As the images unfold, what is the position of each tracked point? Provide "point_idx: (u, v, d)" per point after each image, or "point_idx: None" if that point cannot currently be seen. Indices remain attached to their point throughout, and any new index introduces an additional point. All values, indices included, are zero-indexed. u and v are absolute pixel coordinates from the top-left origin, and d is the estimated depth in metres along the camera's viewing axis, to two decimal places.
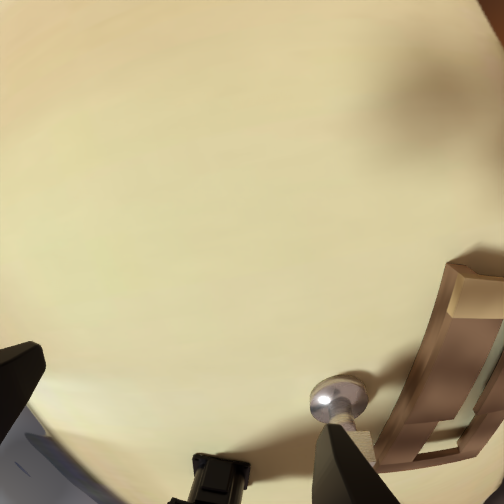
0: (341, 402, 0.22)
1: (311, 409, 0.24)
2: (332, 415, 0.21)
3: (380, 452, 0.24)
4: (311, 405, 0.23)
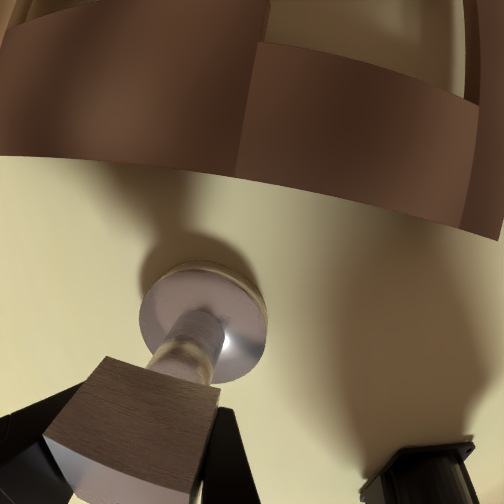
0: None
1: (211, 382, 0.12)
2: None
3: None
4: None
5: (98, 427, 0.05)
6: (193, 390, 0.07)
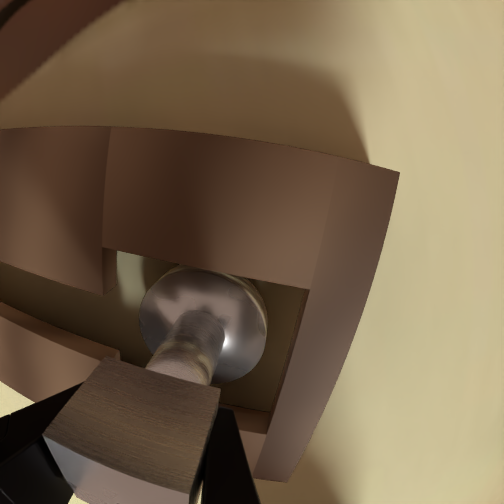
0: None
1: (211, 382, 0.12)
2: None
3: None
4: None
5: (98, 427, 0.05)
6: (193, 390, 0.07)
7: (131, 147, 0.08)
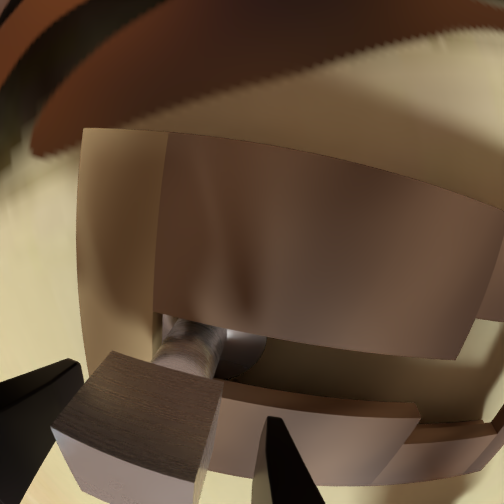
0: None
1: None
2: None
3: None
4: None
5: (105, 419, 0.05)
6: (197, 383, 0.07)
7: None
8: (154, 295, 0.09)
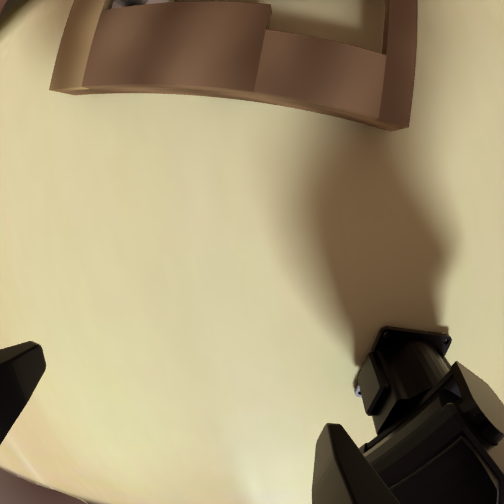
0: None
1: None
2: (115, 1, 0.13)
3: (359, 116, 0.15)
4: None
5: None
6: None
7: None
8: None
